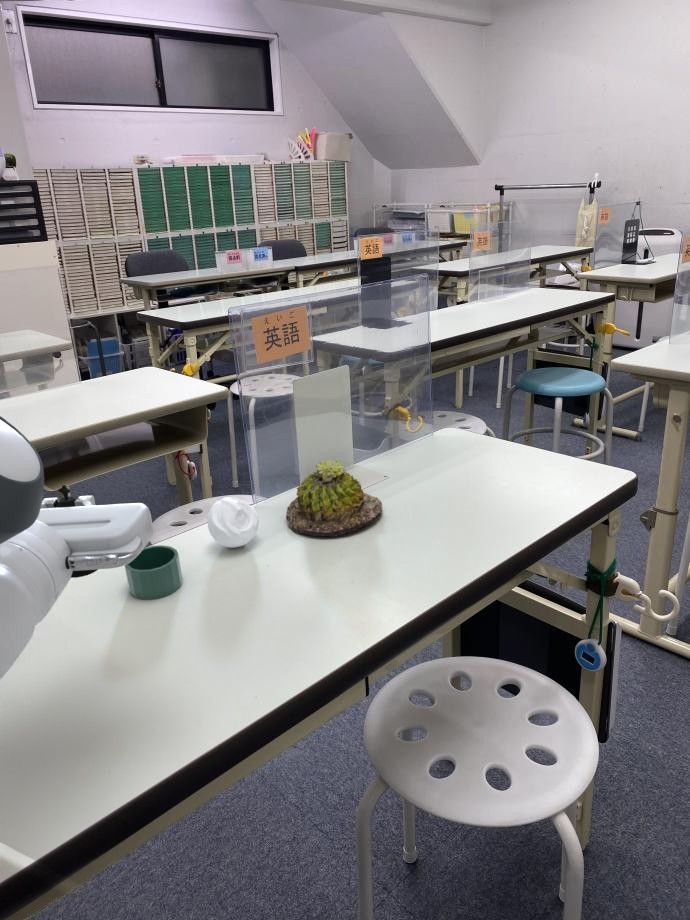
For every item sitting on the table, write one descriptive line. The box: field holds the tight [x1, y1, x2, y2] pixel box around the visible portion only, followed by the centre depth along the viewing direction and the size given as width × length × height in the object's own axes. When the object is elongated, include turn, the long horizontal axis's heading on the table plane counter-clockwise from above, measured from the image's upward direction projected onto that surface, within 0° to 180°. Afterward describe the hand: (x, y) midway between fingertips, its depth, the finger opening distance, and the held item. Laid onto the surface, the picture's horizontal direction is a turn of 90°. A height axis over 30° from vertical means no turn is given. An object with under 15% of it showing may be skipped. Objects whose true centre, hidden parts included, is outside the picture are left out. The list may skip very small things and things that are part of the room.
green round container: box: [123, 544, 183, 601], centre depth 98 cm, size 7×7×4 cm
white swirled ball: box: [206, 496, 259, 549], centre depth 107 cm, size 8×8×8 cm
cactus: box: [285, 459, 383, 537], centre depth 114 cm, size 17×16×10 cm
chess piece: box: [57, 484, 99, 579], centre depth 74 cm, size 4×4×10 cm
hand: (71, 503), depth 74 cm, fingers closed on chess piece, 2 cm apart
